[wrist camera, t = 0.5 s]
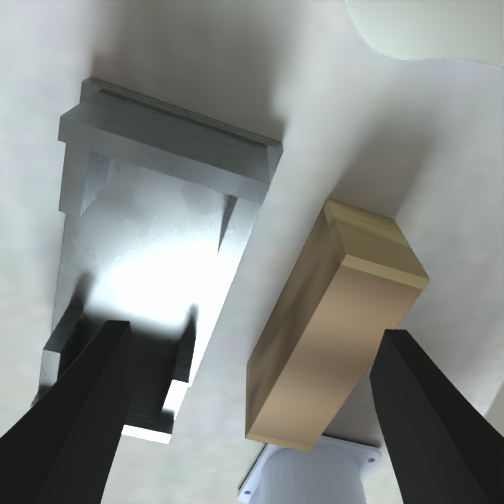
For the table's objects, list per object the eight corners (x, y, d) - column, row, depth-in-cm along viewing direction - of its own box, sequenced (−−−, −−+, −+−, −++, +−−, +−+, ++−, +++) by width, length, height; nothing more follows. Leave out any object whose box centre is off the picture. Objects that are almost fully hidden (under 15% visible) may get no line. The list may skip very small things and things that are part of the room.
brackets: (192, 374, 27) (180, 447, 22) (55, 341, 25) (15, 413, 21) (282, 143, 19) (290, 188, 14) (90, 76, 17) (37, 105, 13)
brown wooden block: (300, 378, 27) (309, 452, 23) (246, 365, 26) (245, 438, 22) (394, 220, 21) (429, 279, 17) (327, 198, 20) (346, 254, 16)
